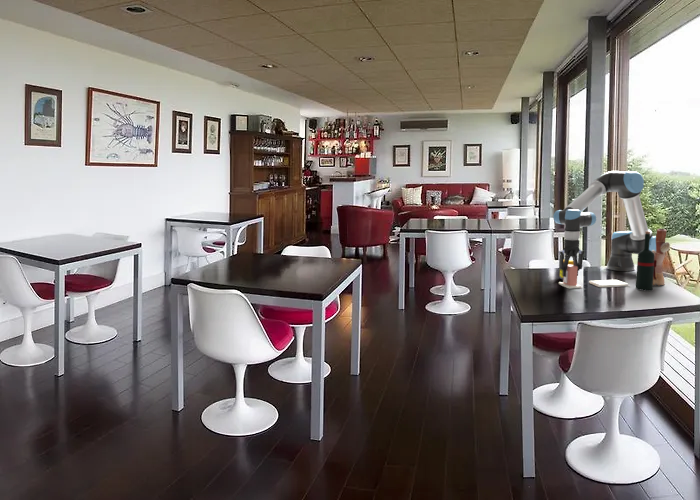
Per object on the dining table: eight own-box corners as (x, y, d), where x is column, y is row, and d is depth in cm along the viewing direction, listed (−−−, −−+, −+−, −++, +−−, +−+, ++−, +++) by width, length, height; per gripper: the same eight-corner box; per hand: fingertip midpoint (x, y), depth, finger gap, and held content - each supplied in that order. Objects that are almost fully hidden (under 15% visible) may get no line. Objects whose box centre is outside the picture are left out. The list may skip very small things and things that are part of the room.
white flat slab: (616, 281, 317) (616, 279, 316) (628, 286, 306) (628, 283, 306) (589, 283, 315) (589, 280, 315) (600, 287, 304) (600, 284, 304)
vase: (646, 282, 314) (649, 227, 309) (659, 282, 313) (663, 227, 309) (655, 286, 303) (659, 230, 299) (669, 286, 303) (673, 230, 298)
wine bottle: (660, 290, 296) (664, 232, 291) (641, 290, 295) (644, 232, 290) (650, 286, 303) (654, 230, 299) (632, 287, 303) (635, 230, 298)
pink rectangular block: (570, 283, 314) (571, 263, 312) (581, 288, 303) (582, 267, 301) (558, 284, 313) (559, 264, 311) (568, 288, 302) (569, 267, 300)
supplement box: (559, 278, 328) (559, 259, 326) (569, 278, 328) (570, 259, 327) (563, 280, 322) (564, 261, 320) (574, 280, 323) (575, 261, 321)
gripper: (583, 237, 309) (581, 280, 312) (552, 238, 306) (551, 281, 310) (591, 239, 301) (589, 283, 305) (559, 240, 299) (557, 284, 303)
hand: (569, 282), depth 307 cm, fingers open, 4 cm apart
